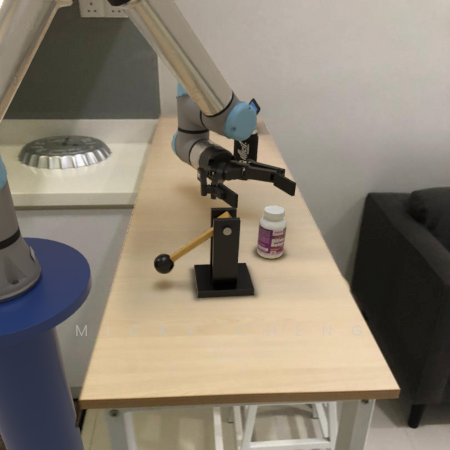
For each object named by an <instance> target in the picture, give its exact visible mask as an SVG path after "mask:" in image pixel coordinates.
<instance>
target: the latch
mask: <svg viewBox="0 0 450 450" xmlns="http://www.w3.org/2000/svg"><path fill="white" fill-rule="evenodd" d="M217 218H232V217H231V215H230V214H229V213H228V211H226V212H225V213H223V214H222V215H220V216H219V217H217ZM212 236H213V227H212V228H210V227H209V229H207V230H206V231H204V232H203V233H201V234H200V235H198V236H196V237H195V238H193V239H192V240H191V241H189V242H188V243H186V244H185V245H183V246H182V247H180V248H179V249H176V251H174V252H173V253H171V254H168V253H160V254H158V255H157V256H156V257H155V258H154V260H153V267H154V269H155V271H156V272H157V273H159V274H161V275H168V274H169V273H171V272H172V271H173V270H174V268H175V262H176V261H178V260H179V259H181V258H182V257H184V256H185V255H187V254H188V253H190V252H191V251H192V250H195V249H196V248H197V247H198V246H200V245H202V244H203V243H205V242H206V241H207V240H210V238H211V237H212Z"/></svg>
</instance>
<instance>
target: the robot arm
mask: <svg viewBox="0 0 450 450" xmlns="http://www.w3.org/2000/svg"><path fill="white" fill-rule="evenodd" d="M74 1H75V0H0V124H1V123H2V121H3V119H4V118H5V115H6V113H7V111H8V109H9V107H10V105H11V103H12V101H13V99H14V98H15V95H16V93H17V91H18V89H19V87H20V85H21V83H22V81H23V79H24V77H25V76H26V73H27V72H28V69H29V67H30V66H31V63H32V61H33V60H34V57H35V56H36V53H37V51H38V50H39V47H40V45H41V43H42V41H43V40H44V38H45V36H46V34H47V31H48V30H49V28H50V25H51V24H52V21H53V19H54V17H55V15H56V14H57V11H58V10H59V9H61V8H63V7H64V8H65V7H70V6H72V5H73V3H74ZM106 1H107V3H108V4H109V5H110V6H111V7H112V8H114V9H121V10H122V11H123V13H124V14H125V15H126V16H127V17H128V19H129V20H130V21H131V23H132V24H133V25H134V26H135V28H136V29H137V30H138V32H139V33H140V35H141V36H142V37H143V38H144V39H145V41H146V42H147V44H149V46H150V47H151V48H152V49H153V51H154V53H156V55H157V56H158V58H159V59H160V60H161V61H162V63H163V64H164V65H165V66H166V68H167V69H168V71H170V73H171V74H172V75H173V77H174V78H175V79H176V81H177V83H176V85H177V86H176V110H177V111H176V112H177V130H176V132H174V134H173V136H172V138H171V150H172V152H173V153H174V154H175V156H176V157H177V158H178V159H179V160H180V161H181V162H183V163H185V164H187V165H188V166H190V167H192V168H193V169H194V170H196V177H197V178H196V180H197V181H199V183H200V185H199V187H200V196H201V197H207V196H208V195H209V197H210V200H217V199H218V200H221V201H223V202H224V203H226V204H227V205H228V206H229V207H236V208H237V209H238V208H239V194H238V193H237V192H235V191H234V190H233V189H231V188H229V186H226V185H225V184H224V183H225V182H226V181H227V182H229V181H236V180H239V181H245V182H247V181H249V180H250V181H251V180H252V181H257V182H264V183H271V184H273V186H274V187H275V188H277V189H279V190H280V191H282V192H284V193H285V194H287V195H289V196H290V197H295V196H296V188H297V182H296V181H294V180H292V179H290V178H289V177H287V176H286V168H283V167H280V166H275V165H272V164H267V163H263V162H260V161H257V162H256V161H254V160H251V159H247V163H241V162H238V161H236V160H235V158H234V156H233V152H232V151H230V150H229V149H227V148H225V147H223V146H222V145H220V144H218V143H217V142H215V141H213V140H212V139H209V131H210V132H213V133H215V134H218V135H220V136H222V137H224V138H226V139H228V140H233V141H234V140H237V141H243V140H246V139H247V138H249V137H250V135H251V134H252V133H253V132H254V130H255V129H256V127H257V124H258V115H257V114H256V111H255V109H254V108H253V107H252V106H251V105H249V103H247V102H246V101H242V100H240V99H239V98H238V96H237V95H236V93H235V92H234V90H233V89H232V87H231V86H230V84H229V83H228V81H227V80H226V79H225V77H224V75H223V74H222V72H221V71H220V69H219V67H218V66H217V65H216V63H215V61H214V60H213V58H212V57H211V54H209V52H208V51H207V49H206V47H205V46H204V45H203V43H202V41H201V40H200V38H199V37H198V36H197V34H196V33H195V31H194V29H193V28H192V26H191V25H190V23H189V22H188V20H187V19H186V17H185V16H184V14H183V12H182V11H181V10H180V8H179V6H178V5H177V4H176V3H177V2H175V0H106ZM3 161H4V160H3V158H2V155H1V154H0V304H2V303H6V302H9V301H12V300H15V299H17V298H20V297H22V296H23V295H25V294H27V293H29V292H30V291H31V290H33V289H34V288H35V287H36V286H37V285H38V283H39V282H40V280H41V277H42V272H41V267H40V264H39V262H38V260H37V258H36V257H35V255H34V251H33V249H32V248H31V246H30V248H29V246H28V245H27V243H26V242H25V240H24V239H23V235H22V233H21V228H20V225H19V224H20V223H19V221H18V216H17V211H16V207H15V205H14V200H13V196H12V193H11V188H10V184H9V180H8V171H7V167H6V165H5V163H4V162H3ZM243 170H245V176H242V175H243ZM208 180H210V184H208Z"/></svg>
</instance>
